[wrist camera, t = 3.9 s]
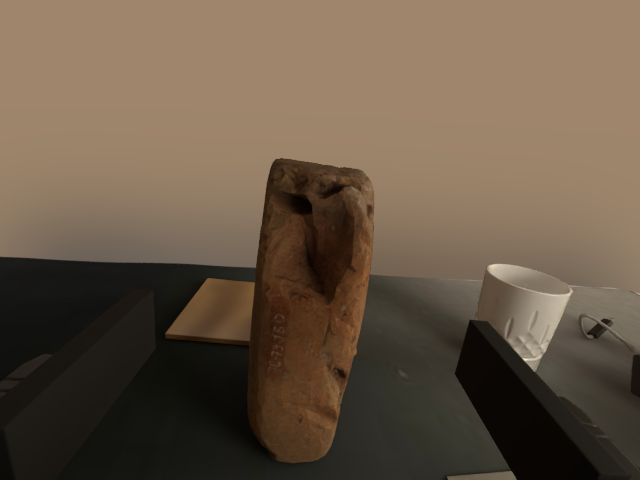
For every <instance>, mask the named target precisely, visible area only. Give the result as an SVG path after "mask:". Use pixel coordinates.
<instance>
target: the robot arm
mask: <svg viewBox="0 0 640 480" xmlns="http://www.w3.org/2000/svg"><path fill="white" fill-rule="evenodd" d="M155 349H156V342H155V319H154V297H153V290H147V289H136V288H134V289H132V290H131V291H130V292H129V293H128V294H126V295H125V296H124V297H123V298H122V299H120V300H119V301H118V302H117V303H115V304H114V305H113V306H112V307H111V308H109V309H108V310H107V311H106V312H105V313H103V314H102V315H101V316H100V317H98V318H97V319H96V320H95V321H94V322H92V323H91V324H90V325H89V326H87V327H86V328H85V329H84V330H83V331H81V332H80V333H79V334H78V335H77V336H75V337H74V338H73V339H72V340H70V341H69V342H68V343H67V344H66V345H64V346H63V347H62V348H61V349H59V350H58V351H57V352H56V353H55V354H53V355H47V354H43V355H41V356H39V357H37V358H35V359H33V360H31V361H29V362H27V363H25V364H23V365H21V366H20V367H19V368H17V369H16V370H15V371H14V372H12V373H11V374H10V375H8V376H7V377H6V379H5V380H2V381H1V382H0V480H55V479H56V478H57V477H58V475H59V474H60V473H61V471H62V470H63V469H64V468H65V466H66V465H67V464H68V462H69V461H70V460H71V458H72V457H73V456H74V455H75V453H76V452H77V451H78V449H79V448H80V447H81V445H82V444H83V443H84V441H85V440H86V439H87V438H88V436H89V435H90V434H91V432H92V431H93V430H94V428H95V427H96V426H97V424H98V423H99V422H100V421H101V419H102V418H103V417H104V415H105V414H106V413H107V411H108V410H109V409H110V407H111V406H112V405H113V404H114V402H115V401H116V400H117V398H118V397H119V396H120V394H121V393H122V392H123V390H124V389H125V388H126V387H127V385H128V384H129V383H130V381H131V380H132V379H133V377H134V376H135V375H136V374H137V372H138V371H139V370H140V368H141V367H142V366H143V364H144V363H145V362H146V360H147V359H148V358H149V357H150V355H151V354H152V353H153V351H154V350H155ZM455 375H456V377H457V378H458V380H459V382H460V384H461V385H462V387H463V389H464V390H465V392H466V394H467V396H468V397H469V399H470V401H471V402H472V404H473V406H474V408H475V409H476V411H477V413H478V414H479V416H480V418H481V419H482V421H483V423H484V425H485V426H486V428H487V430H488V431H489V433H490V435H491V437H492V438H493V440H494V442H495V443H496V445H497V447H498V449H499V450H500V452H501V454H502V455H503V457H504V459H505V460H506V462H507V464H508V466H509V467H510V469H511V471H512V472H513V474H514V476H515V478H516V479H517V480H640V469H639V468H638V467H637V466H636V465H635V464H634V463H633V462H632V461H631V460H630V459H629V458H628V457H627V456H626V455H625V454H624V453H623V452H622V451H621V450H620V449H619V448H618V447H617V446H616V445H615V444H614V443H613V442H612V441H611V440H610V439H608V438H607V435H606V434H605V433H604V432H603V431H602V430H601V429H600V428H599V427H596V425H595V423H594V422H593V421H592V420H591V419H590V418H589V417H588V416H587V415H586V414H585V413H584V412H583V411H582V410H581V409H580V408H578V407H577V406H576V405H574V404H573V403H571V402H570V401H569V400H567V399H566V398H564V397H558V396H557V395H556V394H555V393H554V392H553V391H552V390H551V389H550V388H549V387H548V385H547V384H546V383H545V382H544V381H543V380H542V379H541V378H540V377H539V376H538V375H537V374H536V373H535V372H534V370H533V369H532V368H531V367H530V366H529V365H528V364H527V363H526V362H525V361H524V360H523V359H522V358H521V357H520V355H519V354H518V353H517V352H516V351H515V350H514V349H513V348H512V347H511V346H510V345H509V344H508V343H507V342H506V340H505V339H504V338H503V337H502V336H501V335H500V334H499V333H498V332H497V331H496V330H495V329H494V328H493V327H492V325H491V324H490V323H489V322H488V321H479V320H470V321H469V325H468V328H467V332H466V336H465V339H464V343H463V347H462V350H461V354H460V357H459V361H458V365H457V368H456V372H455Z"/></svg>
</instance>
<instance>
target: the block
mask: <svg viewBox="0 0 640 480" xmlns="http://www.w3.org/2000/svg"><path fill="white" fill-rule="evenodd" d="M373 214H374V191H373V186H372V183H371V181H370V179H369V178H368V177H367V176H366V174H365V173H364V172H363V171H361V170H358V169H352V168H345V167H344V168H338V167H334V166H330V165H322V164H317V163H310V162H304V161H297V160H291V159H282V158H281V159H276V160H275V161H274V162H273V164H272V166H271V169H270V173H269V177H268V181H267V187H266V195H265V203H264V212H263V219H262V226H261V231H260V240H259V249H258V256H257V264H256V274H255V285H254V298H253V308H252V319H251V332H250V343H249V370H248V391H247V401H248V407H247V412H248V420H249V424H250V426H251V429H252V431H253V433H254V436H256V437H257V439H258V441H259V442H260V443H261V445H262V446H264V447H265V448H266V449H267V451H268V454H269V456H270V457H271V458H272V459H274V460H276V461H279V462H285V463H300V462H312V461H315V460H318V459H320V458H321V457H323V456H325V455H326V453H327V452H328V450H329V449H330V447H331V445H332V441H333V438H334V435H335V431H336V427H337V423H338V417H339V413H340V403H341V402H342V397H343V394H344V390H345V387H346V385H347V381H348V377H349V373H350V369H351V366H352V360H353V357H354V354H355V350H356V346H357V342H358V337H359V333H360V329H361V324H362V318H363V313H364V308H365V302H366V296H367V288H368V282H369V276H370V269H371V260H372V250H373V231H374V225H373Z"/></svg>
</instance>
